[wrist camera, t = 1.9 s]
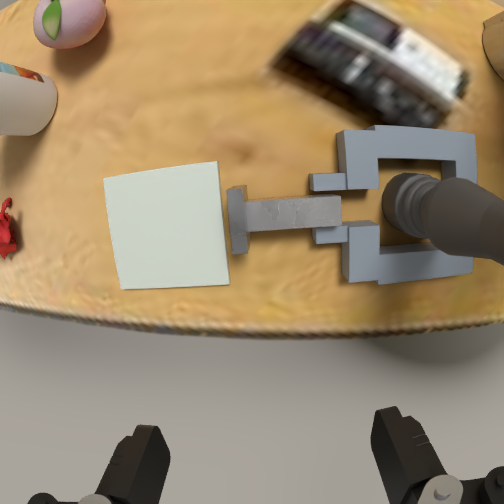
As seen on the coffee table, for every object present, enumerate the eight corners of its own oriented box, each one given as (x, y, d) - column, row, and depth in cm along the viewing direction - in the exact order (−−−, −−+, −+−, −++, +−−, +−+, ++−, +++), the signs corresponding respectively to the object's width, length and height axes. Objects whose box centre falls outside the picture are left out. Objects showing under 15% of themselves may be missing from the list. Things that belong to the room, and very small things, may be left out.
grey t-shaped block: (233, 186, 29) (226, 190, 23) (330, 179, 28) (347, 182, 23) (238, 237, 30) (232, 254, 24) (332, 231, 30) (348, 246, 24)
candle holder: (371, 191, 29) (594, 266, 5) (416, 161, 28) (636, 183, 4) (397, 242, 30) (582, 376, 6) (439, 212, 29) (635, 293, 5)
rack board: (107, 177, 29) (103, 178, 28) (218, 161, 29) (216, 161, 28) (124, 286, 32) (121, 289, 32) (230, 280, 32) (229, 284, 31)
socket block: (305, 129, 28) (309, 125, 25) (459, 135, 27) (474, 133, 24) (313, 279, 31) (318, 290, 29) (458, 265, 30) (471, 273, 28)
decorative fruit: (62, 16, 24) (17, -11, 14) (118, -13, 23) (81, -52, 14) (64, 73, 26) (10, 53, 17) (124, 44, 26) (79, 9, 16)
